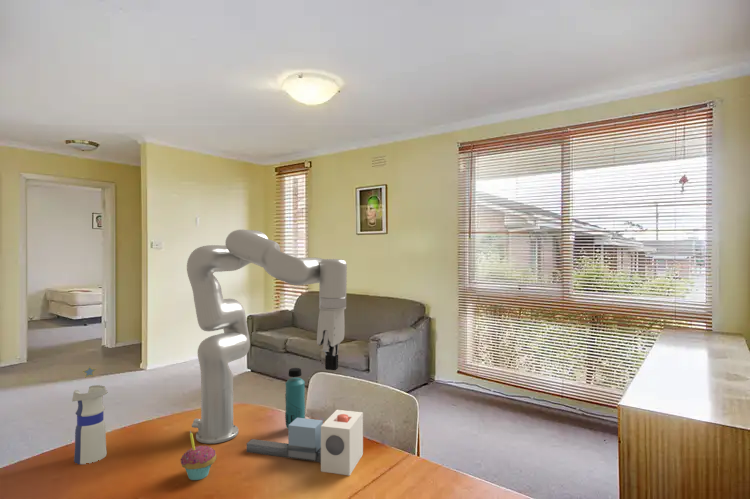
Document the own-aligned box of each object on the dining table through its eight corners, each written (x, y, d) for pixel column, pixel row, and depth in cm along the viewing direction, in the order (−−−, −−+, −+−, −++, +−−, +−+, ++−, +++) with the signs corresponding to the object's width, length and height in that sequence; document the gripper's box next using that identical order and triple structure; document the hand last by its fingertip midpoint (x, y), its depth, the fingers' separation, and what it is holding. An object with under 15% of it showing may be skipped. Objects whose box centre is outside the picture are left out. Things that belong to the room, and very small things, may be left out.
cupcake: (181, 487, 106) (181, 438, 106) (179, 471, 113) (179, 426, 113) (218, 478, 110) (218, 432, 110) (214, 464, 117) (214, 420, 117)
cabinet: (320, 472, 113) (320, 426, 113) (336, 450, 125) (336, 409, 125) (349, 476, 111) (349, 429, 111) (362, 454, 123) (362, 412, 123)
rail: (246, 452, 124) (246, 443, 124) (252, 447, 127) (252, 439, 127) (327, 463, 118) (327, 454, 118) (331, 458, 120) (331, 449, 120)
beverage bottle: (307, 426, 142) (307, 366, 142) (302, 434, 135) (302, 371, 135) (288, 425, 143) (288, 365, 143) (282, 434, 136) (282, 371, 136)
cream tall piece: (64, 461, 119) (64, 371, 119) (96, 448, 126) (96, 363, 126) (81, 468, 115) (81, 375, 115) (113, 454, 123) (113, 367, 123)
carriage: (288, 456, 119) (288, 425, 119) (297, 447, 125) (297, 417, 125) (315, 460, 117) (315, 428, 117) (322, 450, 122) (322, 420, 122)
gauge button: (335, 443, 117) (335, 417, 117) (339, 438, 120) (339, 413, 120) (346, 444, 116) (346, 418, 116) (349, 439, 119) (349, 414, 119)
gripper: (329, 299, 127) (328, 361, 127) (309, 306, 113) (308, 375, 113) (353, 300, 125) (352, 363, 125) (336, 307, 111) (334, 378, 111)
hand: (331, 369), depth 119 cm, fingers closed
